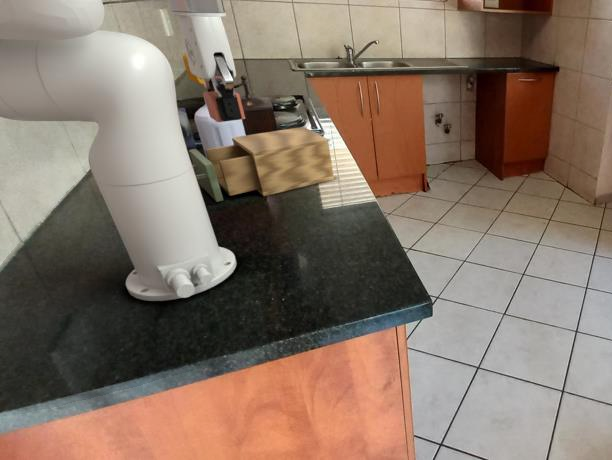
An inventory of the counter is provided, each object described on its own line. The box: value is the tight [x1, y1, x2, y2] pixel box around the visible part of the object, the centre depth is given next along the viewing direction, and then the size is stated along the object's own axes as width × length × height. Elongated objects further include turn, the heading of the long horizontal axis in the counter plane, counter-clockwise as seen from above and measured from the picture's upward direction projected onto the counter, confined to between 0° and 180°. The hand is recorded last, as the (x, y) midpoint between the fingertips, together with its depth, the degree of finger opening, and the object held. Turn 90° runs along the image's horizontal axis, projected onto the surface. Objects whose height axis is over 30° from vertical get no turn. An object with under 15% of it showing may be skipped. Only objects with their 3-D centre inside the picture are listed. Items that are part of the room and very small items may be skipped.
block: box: [202, 91, 245, 122], centre depth 77 cm, size 4×4×4 cm
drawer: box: [188, 144, 261, 202], centre depth 83 cm, size 19×11×7 cm, turn 136°
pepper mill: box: [200, 74, 279, 135], centre depth 111 cm, size 16×11×18 cm
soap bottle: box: [182, 52, 246, 159], centre depth 97 cm, size 9×9×25 cm
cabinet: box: [232, 126, 335, 197], centre depth 91 cm, size 15×12×9 cm
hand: (227, 116), depth 78 cm, fingers closed on block, 4 cm apart
